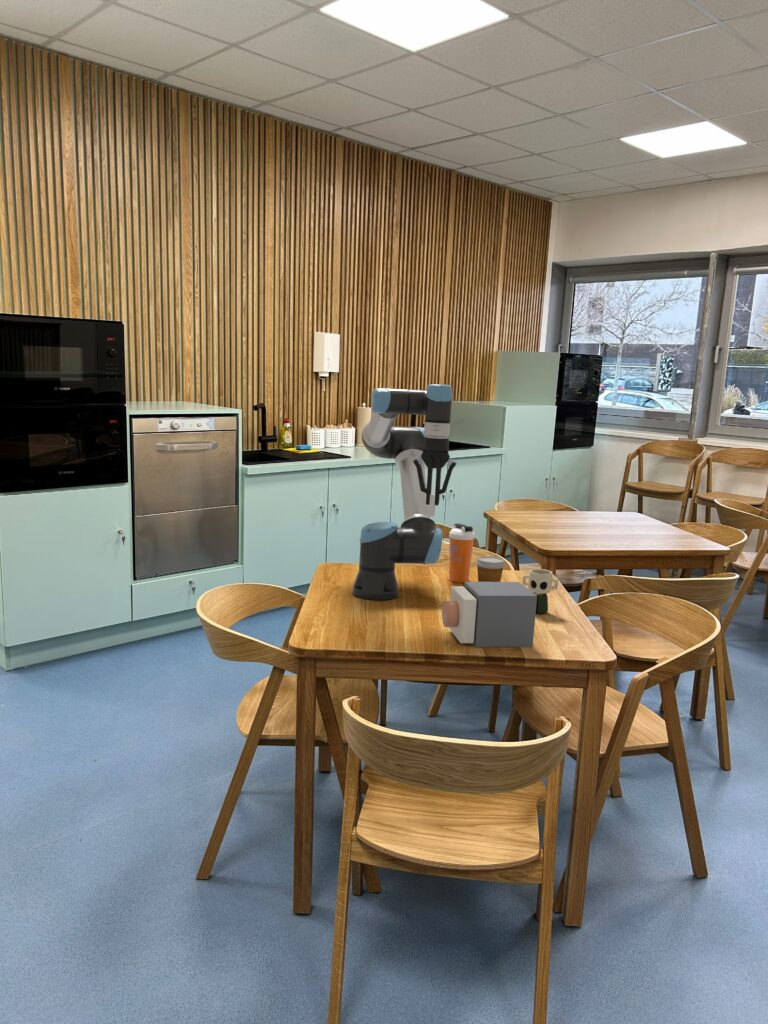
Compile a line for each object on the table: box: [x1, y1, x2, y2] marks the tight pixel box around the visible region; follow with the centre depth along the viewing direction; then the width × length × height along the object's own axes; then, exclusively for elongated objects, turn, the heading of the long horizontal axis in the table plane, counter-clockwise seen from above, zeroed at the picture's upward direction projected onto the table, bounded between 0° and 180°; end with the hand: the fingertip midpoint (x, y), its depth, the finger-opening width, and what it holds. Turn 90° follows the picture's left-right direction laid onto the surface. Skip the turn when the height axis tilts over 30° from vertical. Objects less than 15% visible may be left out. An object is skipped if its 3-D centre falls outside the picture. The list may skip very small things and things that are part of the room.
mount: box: [463, 581, 537, 648], centre depth 207 cm, size 16×14×14 cm
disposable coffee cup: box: [475, 556, 506, 582], centre depth 252 cm, size 10×10×12 cm
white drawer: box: [441, 585, 477, 644], centre depth 206 cm, size 21×13×12 cm, turn 100°
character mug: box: [522, 568, 559, 614], centre depth 234 cm, size 11×7×13 cm, turn 69°
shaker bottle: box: [448, 523, 476, 584], centre depth 267 cm, size 9×9×20 cm
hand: (431, 515), depth 226 cm, fingers closed
